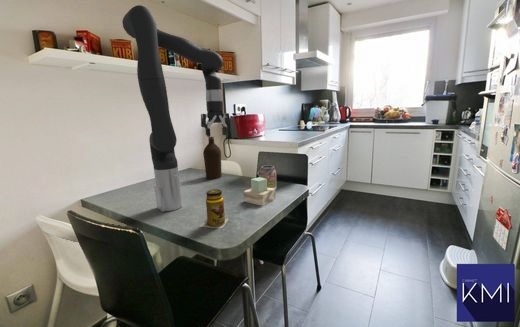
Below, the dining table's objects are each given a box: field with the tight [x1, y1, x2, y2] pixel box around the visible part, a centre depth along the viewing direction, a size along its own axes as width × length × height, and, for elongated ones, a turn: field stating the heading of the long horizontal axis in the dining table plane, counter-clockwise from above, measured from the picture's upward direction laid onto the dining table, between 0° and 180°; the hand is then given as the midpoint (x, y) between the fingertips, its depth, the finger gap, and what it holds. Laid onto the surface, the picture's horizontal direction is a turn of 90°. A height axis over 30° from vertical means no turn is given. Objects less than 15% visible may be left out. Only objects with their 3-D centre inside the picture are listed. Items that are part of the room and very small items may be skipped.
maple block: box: [243, 187, 276, 206], centre depth 110 cm, size 10×10×5 cm
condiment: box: [198, 188, 229, 229], centre depth 87 cm, size 7×8×12 cm
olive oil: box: [202, 136, 222, 180], centre depth 151 cm, size 11×11×25 cm
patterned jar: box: [256, 164, 277, 191], centre depth 122 cm, size 9×8×12 cm
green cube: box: [250, 176, 267, 193], centre depth 108 cm, size 5×5×5 cm
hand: (216, 135), depth 117 cm, fingers open, 8 cm apart
